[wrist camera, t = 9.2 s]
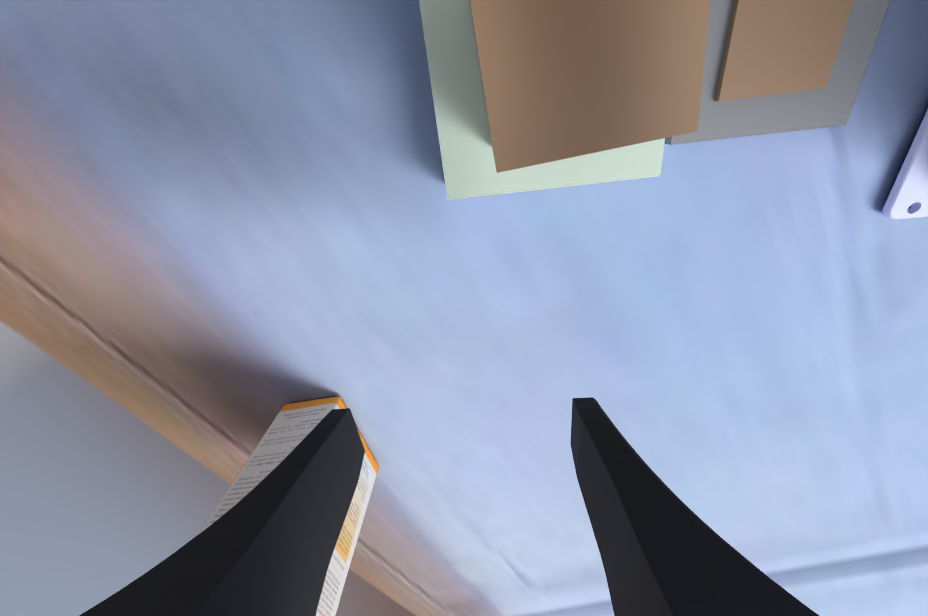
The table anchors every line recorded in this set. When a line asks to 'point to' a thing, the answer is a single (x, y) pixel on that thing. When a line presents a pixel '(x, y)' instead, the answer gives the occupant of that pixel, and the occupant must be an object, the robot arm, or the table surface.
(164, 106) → the table surface
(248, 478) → the supplement box
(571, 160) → the green block
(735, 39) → the tile
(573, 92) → the walnut block
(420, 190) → the table surface
